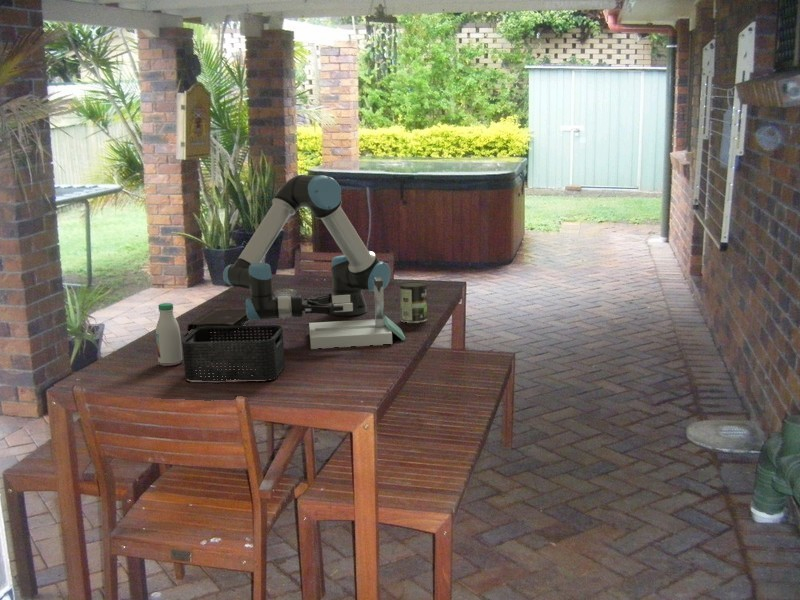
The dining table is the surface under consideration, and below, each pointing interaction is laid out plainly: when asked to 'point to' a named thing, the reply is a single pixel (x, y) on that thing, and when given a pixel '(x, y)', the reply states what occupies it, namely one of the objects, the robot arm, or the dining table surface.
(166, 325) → the milk bottle
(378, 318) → the t key
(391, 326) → the cover
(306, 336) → the dining table surface
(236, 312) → the diary
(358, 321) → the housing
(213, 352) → the storage bin
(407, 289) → the coffee can
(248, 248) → the robot arm
